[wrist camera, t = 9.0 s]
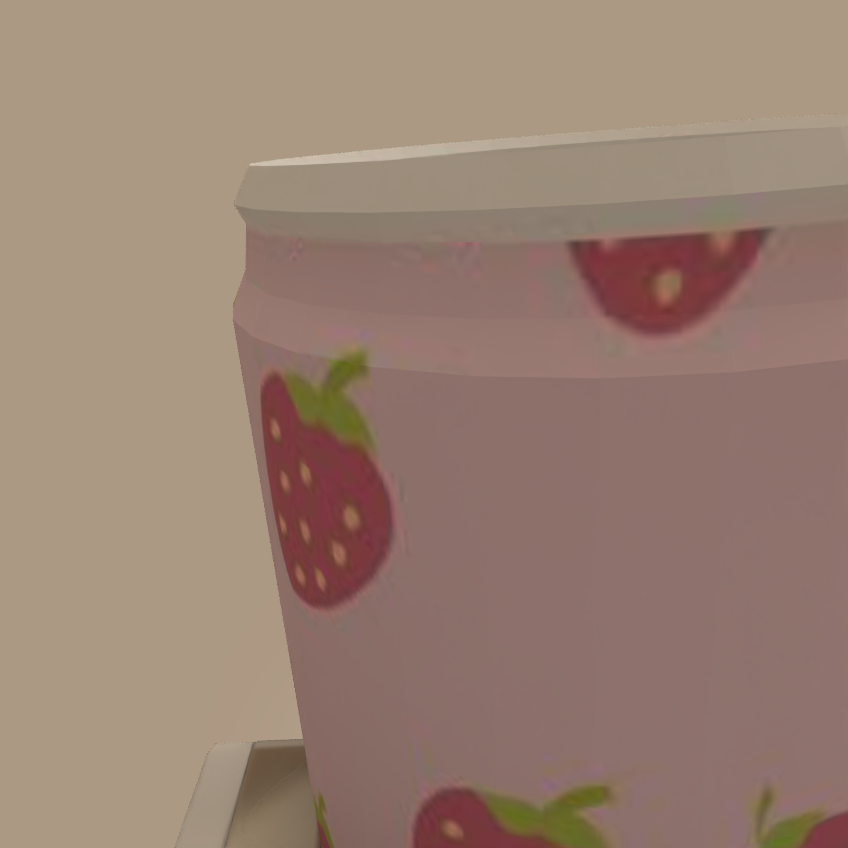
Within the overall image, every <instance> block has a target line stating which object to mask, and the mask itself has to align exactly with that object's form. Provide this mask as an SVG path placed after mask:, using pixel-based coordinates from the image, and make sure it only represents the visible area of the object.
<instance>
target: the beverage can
mask: <svg viewBox="0 0 848 848" xmlns="http://www.w3.org/2000/svg"><path fill="white" fill-rule="evenodd" d="M234 205H235V207H236V208H237V210H238V212H239V213H240V215H241V216H242V218H243V219H244V221H245V222H246V270H245V273H244V276H243V278H242V281H241V284H240V287H239V290H238V293H237V296H236V298H235V301H234V304H233V308H234V309H233V322H234V328H235V334H236V340H237V346H238V352H239V358H240V364H241V369H242V376H243V382H244V388H245V394H246V400H247V405H248V412H249V417H250V424H251V429H252V436H253V442H254V448H255V453H256V459H257V465H258V471H259V477H260V483H261V489H262V495H263V501H264V507H265V513H266V519H267V525H268V531H269V537H270V543H271V549H272V555H273V561H274V567H275V572H276V579H277V585H278V590H279V597H280V603H281V608H282V615H283V621H284V627H285V633H286V639H287V645H288V651H289V656H290V663H291V669H292V674H293V681H294V687H295V692H296V698H297V704H298V710H299V716H300V722H301V728H302V734H303V740H304V746H305V752H306V758H307V764H308V770H309V776H310V782H311V788H312V794H313V800H314V806H315V812H316V818H317V824H318V830H319V836H320V842H321V848H848V113H841V114H824V115H809V116H794V117H779V118H765V119H750V120H736V121H722V122H708V123H694V124H682V125H681V124H680V125H667V126H653V127H640V128H627V129H614V130H601V131H589V132H575V133H564V134H551V135H538V136H526V137H515V138H502V139H491V140H478V141H466V142H454V143H443V144H432V145H421V146H409V147H399V148H387V149H377V150H367V151H356V152H346V153H336V154H326V155H317V156H307V157H299V158H289V159H280V160H273V161H265V162H259V163H253V164H249V166H248V168H247V170H246V173H245V175H244V178H243V180H242V183H241V185H240V188H239V191H238V193H237V195H236V198H235V201H234Z"/></svg>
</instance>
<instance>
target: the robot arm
mask: <svg viewBox="0 0 848 848" xmlns="http://www.w3.org/2000/svg"><path fill="white" fill-rule="evenodd" d="M174 848H321V842H320V836H319V830H318V824H317V818H316V812H315V806H314V800H313V794H312V788H311V782H310V776H309V770H308V764H307V758H306V752H305V746H304V740H303V739H294V740H267V741H257V742H244V743H215V744H214V746H213V747H212V748H211V750H210V751H209V752H208V753H207V755H206V758H205V761H204V764H203V766H202V769H201V773H200V775H199V778H198V781H197V784H196V787H195V790H194V792H193V795H192V798H191V801H190V804H189V807H188V810H187V813H186V816H185V818H184V821H183V824H182V827H181V830H180V833H179V836H178V839H177V842H176V844H175V847H174Z"/></svg>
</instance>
